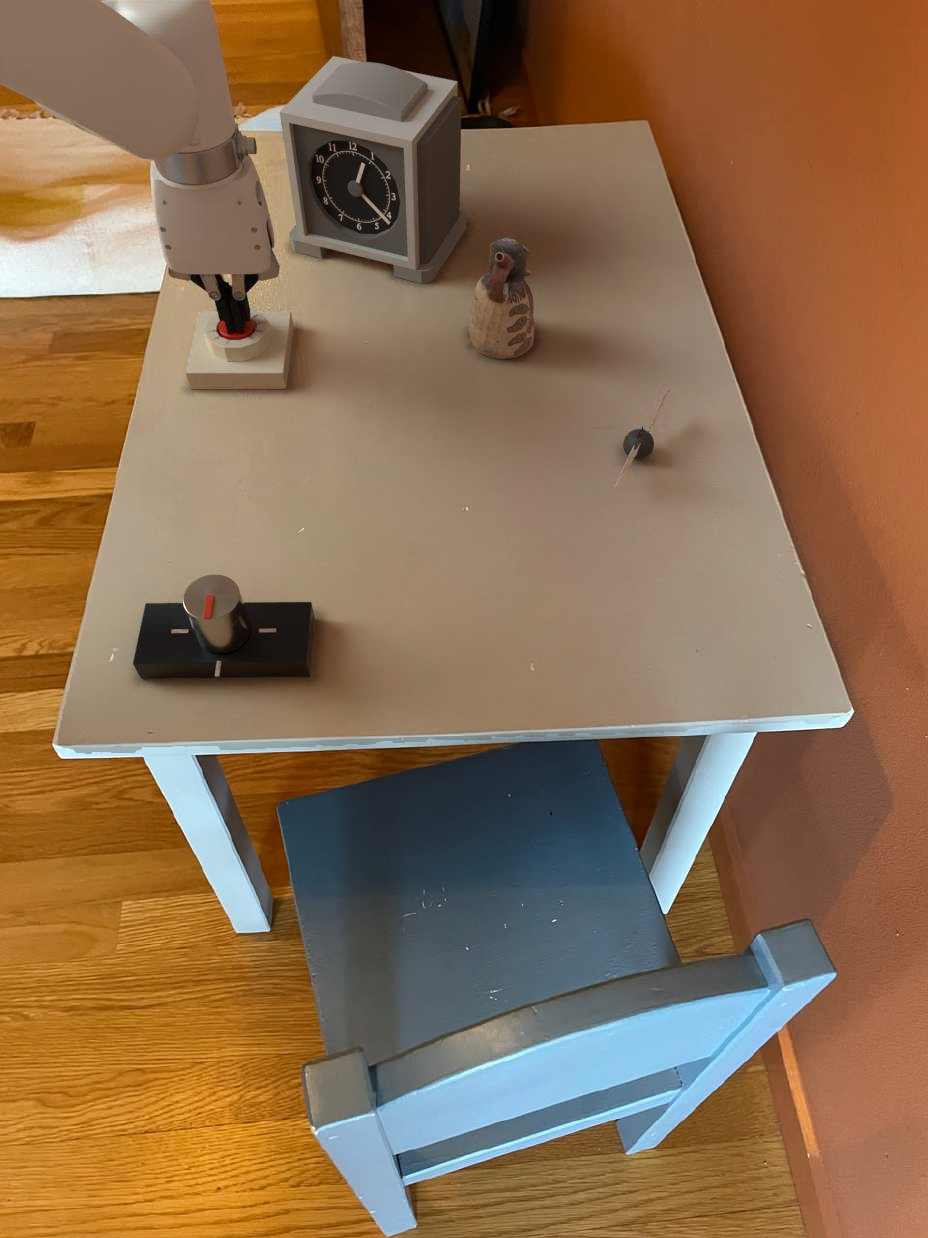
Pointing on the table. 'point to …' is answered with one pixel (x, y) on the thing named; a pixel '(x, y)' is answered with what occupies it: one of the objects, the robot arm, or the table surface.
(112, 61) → the robot arm
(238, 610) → the knob
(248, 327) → the power button
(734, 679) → the table surface
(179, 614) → the panel
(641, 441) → the bat toy
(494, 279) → the figurine
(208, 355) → the switch box
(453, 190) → the alarm clock
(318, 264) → the table surface
